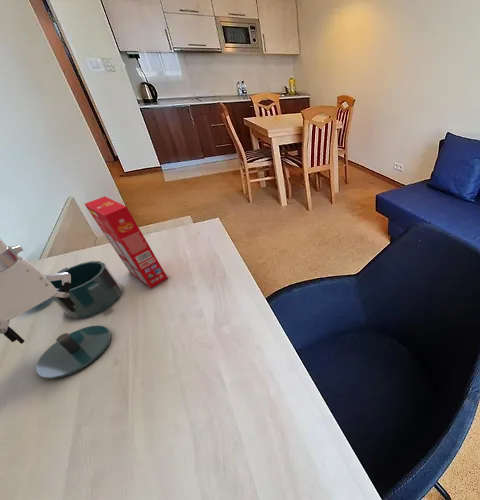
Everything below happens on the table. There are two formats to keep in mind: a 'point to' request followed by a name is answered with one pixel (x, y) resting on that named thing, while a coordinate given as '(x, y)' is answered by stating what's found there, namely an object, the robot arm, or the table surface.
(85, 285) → the pot
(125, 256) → the food packaging
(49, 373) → the lid
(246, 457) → the table surface
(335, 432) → the table surface
